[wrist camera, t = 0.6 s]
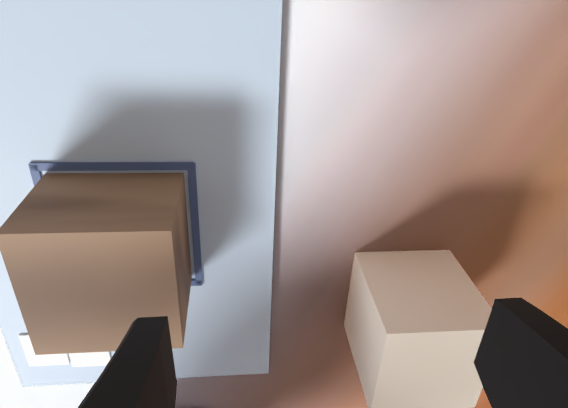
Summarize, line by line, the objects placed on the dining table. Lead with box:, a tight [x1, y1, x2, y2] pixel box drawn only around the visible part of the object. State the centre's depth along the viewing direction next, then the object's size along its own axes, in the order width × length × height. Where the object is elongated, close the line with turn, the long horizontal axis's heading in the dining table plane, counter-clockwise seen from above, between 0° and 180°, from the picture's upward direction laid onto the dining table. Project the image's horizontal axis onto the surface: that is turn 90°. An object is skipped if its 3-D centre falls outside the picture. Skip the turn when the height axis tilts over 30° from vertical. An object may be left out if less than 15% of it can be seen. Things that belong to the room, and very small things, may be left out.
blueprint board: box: [0, 0, 282, 387], centre depth 18 cm, size 18×12×1 cm, turn 178°
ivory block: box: [344, 250, 492, 408], centre depth 19 cm, size 4×4×5 cm
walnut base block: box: [0, 173, 192, 355], centre depth 16 cm, size 5×5×4 cm
